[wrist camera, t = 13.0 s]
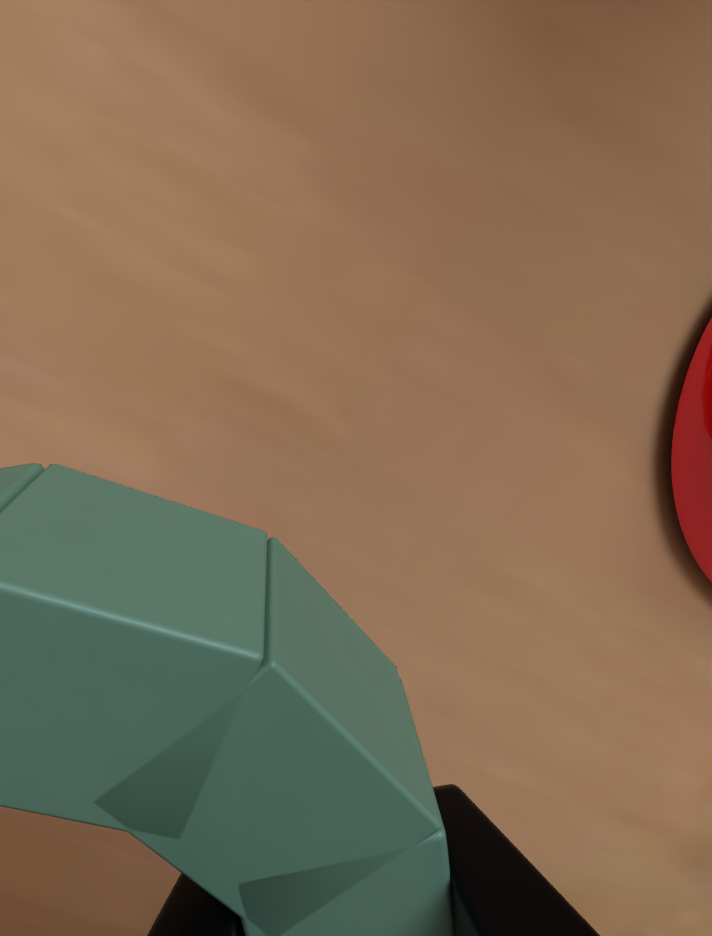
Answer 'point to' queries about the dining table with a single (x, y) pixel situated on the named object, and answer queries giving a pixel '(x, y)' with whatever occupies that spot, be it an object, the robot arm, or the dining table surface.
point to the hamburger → (695, 455)
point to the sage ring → (210, 711)
